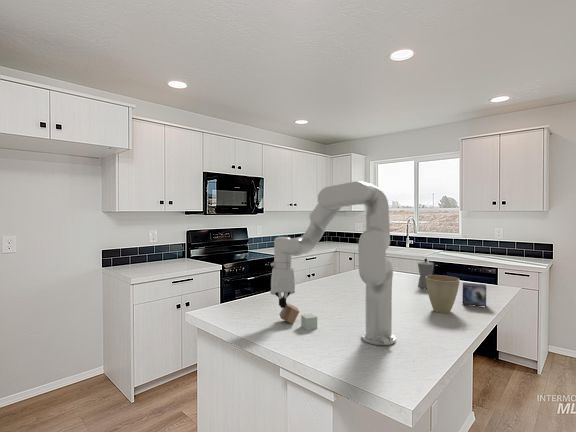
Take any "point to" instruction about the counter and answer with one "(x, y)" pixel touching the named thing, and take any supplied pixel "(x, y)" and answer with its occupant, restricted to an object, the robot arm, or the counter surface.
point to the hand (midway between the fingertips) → (282, 306)
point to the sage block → (309, 321)
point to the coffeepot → (425, 272)
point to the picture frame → (474, 294)
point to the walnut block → (289, 313)
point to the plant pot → (442, 292)
